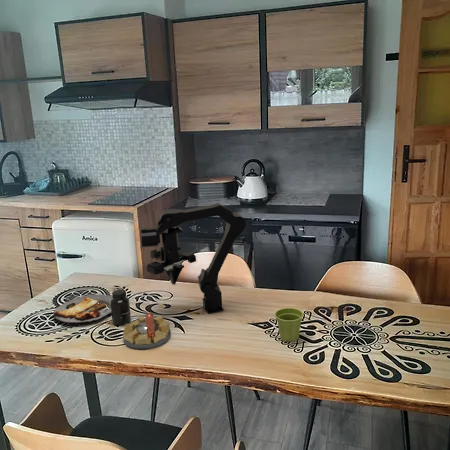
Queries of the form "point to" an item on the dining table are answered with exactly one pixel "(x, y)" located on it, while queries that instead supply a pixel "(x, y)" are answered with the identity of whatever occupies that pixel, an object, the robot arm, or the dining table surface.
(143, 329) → the flange
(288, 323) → the plant pot
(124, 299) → the supplement bottle
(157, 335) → the handwheel
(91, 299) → the food plate
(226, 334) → the dining table surface
